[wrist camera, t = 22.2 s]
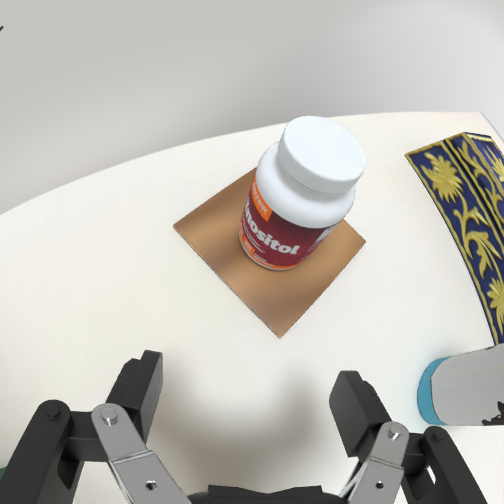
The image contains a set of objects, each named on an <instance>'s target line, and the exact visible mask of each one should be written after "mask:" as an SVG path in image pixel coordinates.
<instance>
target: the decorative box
mask: <svg viewBox="0 0 504 504" xmlns="http://www.w3.org/2000/svg"><path fill="white" fill-rule="evenodd" d="M405 156H406V157H407V159H408V160H409V162H410V163H411V165H412V166H413V168H414V169H415V171H416V173H417V174H418V176H419V177H420V179H421V180H422V182H423V184H424V185H425V187H426V189H427V190H428V192H429V194H430V195H431V197H432V199H433V200H434V202H435V204H436V206H437V207H438V209H439V211H440V213H441V215H442V217H443V218H444V220H445V222H446V224H447V226H448V228H449V230H450V232H451V234H452V236H453V238H454V240H455V242H456V244H457V246H458V248H459V250H460V252H461V255H462V257H463V259H464V261H465V263H466V266H467V268H468V270H469V273H470V275H471V277H472V280H473V282H474V285H475V287H476V290H477V292H478V295H479V298H480V300H481V303H482V306H483V309H484V312H485V315H486V317H487V321H488V324H489V327H490V330H491V333H492V337H493V340H494V343H495V345H499V344H502V343H504V155H503V154H502V152H501V151H500V149H499V148H498V147H497V145H496V144H495V142H494V141H493V139H492V138H491V137H490V136H488V135H481V134H475V133H468V132H463V133H460V134H457V135H454V136H452V137H449V138H446V139H444V140H441V141H438V142H435V143H433V144H430V145H428V146H425V147H422V148H420V149H417V150H414V151H412V152H409V153H407V154H405Z"/></svg>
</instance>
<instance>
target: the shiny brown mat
mask: <svg viewBox="0 0 504 504" xmlns="http://www.w3.org/2000/svg"><path fill="white" fill-rule="evenodd" d="M256 169H257V167H256V168H254V169H253V170H251V171H250V172H248V173H247V174H245V175H244V176H242V177H241V178H239V179H238V180H236V181H235V182H233V183H232V184H230V185H229V186H228V187H226V188H225V189H223V190H222V191H220V192H219V193H217V194H216V195H214V196H213V197H212V198H210V199H209V200H207V201H206V202H205V203H203V204H202V205H200V206H199V207H197V208H196V209H195V210H193V211H192V212H191V213H189V214H188V215H186V216H185V217H184V218H182V219H181V220H180V221H178V222H177V223H175V224H174V225H173V227H174V229H175V230H176V231H177V232H178V233H179V234H180V235H181V236H182V237H183V238H184V239H185V241H186V242H187V243H188V244H189V245H190V246H191V247H192V248H193V249H194V250H195V251H196V252H197V254H198V255H199V256H200V257H201V258H202V259H203V260H204V261H205V262H206V263H207V264H208V265H209V266H210V267H211V268H212V270H213V271H214V272H215V273H216V274H217V275H218V276H219V277H220V278H221V279H222V280H223V281H224V282H225V283H226V284H227V285H228V286H229V287H230V288H231V289H232V290H233V291H234V293H235V294H236V295H237V296H238V297H239V298H240V299H241V300H242V301H243V302H244V303H245V304H246V305H247V306H248V307H249V308H250V309H251V310H252V311H253V312H254V313H255V314H256V315H257V316H258V317H259V318H260V319H261V320H262V321H263V322H264V323H265V324H266V325H267V326H268V327H269V328H270V329H271V330H272V331H273V332H274V333H275V334H276V335H277V336H278V337H279V338H281V337H282V336H283V335H284V334H285V333H286V332H287V331H288V330H289V329H290V328H291V327H292V326H293V324H294V323H295V322H296V321H297V320H298V319H299V318H300V317H301V316H302V315H303V314H304V313H305V312H306V311H307V309H308V308H309V307H310V306H311V305H312V304H313V303H314V302H315V301H316V300H317V298H318V297H319V296H320V295H321V294H322V293H323V292H324V291H325V289H326V288H327V287H328V286H329V285H330V284H331V283H332V282H333V280H334V279H335V278H336V277H337V276H338V275H339V273H340V272H341V271H342V270H343V269H344V268H345V266H346V265H347V264H348V263H349V262H350V261H351V259H352V258H353V257H354V256H355V255H356V253H357V252H358V251H359V250H360V249H361V247H362V246H363V245H364V244H365V242H366V241H365V240H364V239H363V238H362V237H361V236H360V235H359V234H358V233H357V232H356V231H355V230H354V229H353V228H352V227H351V226H350V225H349V224H348V223H347V222H346V221H345V220H344V219H342V220H341V221H340V222H339V223H338V225H337V226H336V227H335V228H334V229H333V230H332V231H331V232H330V234H329V235H328V236H327V237H326V238H325V239H324V240H323V241H322V242H321V243H320V245H319V246H318V247H317V248H316V249H315V250H314V251H313V252H312V253H311V254H310V256H309V257H308V258H307V259H306V260H305V261H303V262H302V263H301V264H300V265H298V266H296V267H294V268H291V269H287V270H273V269H269V268H266V267H263V266H261V265H259V264H258V263H256V262H255V261H253V260H252V259H251V258H250V257H249V256H248V255H247V253H246V252H245V250H244V249H243V247H242V245H241V242H240V238H239V225H240V220H241V217H242V214H243V210H244V207H245V204H246V201H247V198H248V194H249V191H250V188H251V185H252V182H253V178H254V175H255V172H256Z"/></svg>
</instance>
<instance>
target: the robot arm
mask: <svg viewBox="0 0 504 504" xmlns="http://www.w3.org/2000/svg"><path fill="white" fill-rule="evenodd" d="M2 28H3V26H1V27H0V31H1V30H2ZM162 381H163V356H162V353H161V352H155V351H150V350H145V351H144V353H143V355H142V357H141V360H138V359H134V358H132V359H131V360H129V361H128V362H127V363H125V364H124V366H123V368H122V370H121V373H120V374H119V376H118V378H117V380H116V382H115V384H114V386H113V388H112V390H111V392H110V394H109V396H108V398H107V400H106V402H105V404H101V405H99V406H97V407H96V408H94V410H93V411H91V412H78V411H70V409H69V407H68V406H67V405H66V404H65V403H64V402H62V401H59V400H47V401H45V402H43V403H41V404H40V405H39V407H38V408H37V410H36V412H35V414H34V415H33V417H32V419H31V421H30V423H29V424H28V426H27V428H26V430H25V432H24V434H23V435H22V437H21V439H20V441H19V443H18V445H17V447H16V449H15V451H14V453H13V455H12V457H11V459H10V461H9V463H8V465H7V467H6V470H5V472H4V474H3V476H2V478H1V481H0V504H72V502H73V498H74V495H75V491H76V488H77V485H78V481H79V478H80V475H81V472H82V468H83V465H84V462H85V461H93V462H106V463H107V465H108V467H109V469H110V471H111V473H112V475H113V477H114V479H115V480H116V482H117V484H118V486H119V488H120V490H121V492H122V493H123V495H124V497H125V499H126V501H127V503H128V504H394V501H395V498H396V495H397V492H398V490H399V487H400V484H401V486H402V489H403V492H404V494H405V497H406V500H407V502H408V504H487V502H486V500H485V498H484V496H483V494H482V492H481V490H480V488H479V486H478V484H477V483H476V481H475V479H474V477H473V475H472V473H471V472H470V470H469V468H468V466H467V464H466V463H465V461H464V459H463V457H462V456H461V454H460V452H459V451H458V449H457V447H456V445H455V444H454V442H453V440H452V439H451V437H450V435H449V434H448V432H447V431H446V430H445V429H443V428H441V427H439V426H430V427H428V428H427V429H426V430H425V432H424V433H423V434H419V433H409V431H408V430H407V428H406V427H405V426H404V425H402V424H400V423H398V422H393V421H392V420H391V418H390V416H389V414H388V413H387V411H386V409H385V407H384V405H383V404H382V402H380V401H381V400H380V398H379V397H378V396H377V393H376V391H375V390H374V388H373V387H372V386H371V385H370V384H369V383H368V382H367V381H363V380H362V378H361V377H360V375H359V373H358V372H357V371H340V373H339V375H338V377H337V379H336V382H335V384H334V387H333V389H332V392H331V394H330V398H329V405H330V409H331V411H332V414H333V417H334V419H335V422H336V425H337V428H338V431H339V433H340V436H341V439H342V442H343V444H344V447H345V450H346V453H347V456H348V457H356V456H358V459H359V460H358V462H357V463H356V465H355V467H354V469H353V471H352V473H351V475H350V476H349V478H348V480H347V482H346V484H345V486H344V488H343V489H342V491H341V493H340V494H339V495H338V496H337V495H334V494H330V493H325V492H322V488H321V485H320V486H309V487H295V488H291V489H287V490H283V491H279V492H274V493H269V494H266V493H260V492H256V491H251V490H247V489H243V488H239V487H227V486H215V485H209V486H208V491H207V492H199V493H194V494H191V495H188V496H186V495H185V494H184V493H183V492H182V490H181V489H180V488H179V486H178V485H177V484H176V482H175V481H174V480H173V478H172V477H171V475H170V474H169V473H168V471H167V470H166V468H165V467H164V465H163V464H162V463H161V461H160V460H159V458H158V457H157V455H156V454H155V453H154V452H153V451H152V450H150V451H149V450H148V448H147V447H146V442H147V438H148V435H149V431H150V427H151V424H152V420H153V417H154V413H155V410H156V407H157V403H158V400H159V396H160V393H161V389H162ZM429 466H430V467H431V469H432V471H433V473H434V475H435V478H436V481H435V484H434V483H433V481H432V479H431V477H430V475H429V472H428V470H427V468H428V467H429Z"/></svg>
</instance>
